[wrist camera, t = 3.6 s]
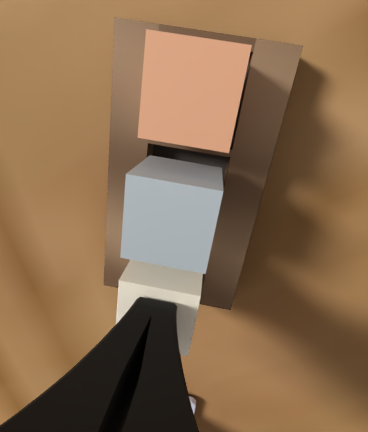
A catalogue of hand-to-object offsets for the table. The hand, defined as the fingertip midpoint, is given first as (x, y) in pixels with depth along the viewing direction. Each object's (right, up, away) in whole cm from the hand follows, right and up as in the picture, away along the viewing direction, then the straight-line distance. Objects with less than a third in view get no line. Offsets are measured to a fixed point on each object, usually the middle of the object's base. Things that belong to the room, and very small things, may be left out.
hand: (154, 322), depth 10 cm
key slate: (+1, +5, +1) cm, 5 cm away
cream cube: (0, +1, +3) cm, 3 cm away
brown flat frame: (+1, +5, +3) cm, 6 cm away
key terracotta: (+2, +8, +1) cm, 8 cm away
